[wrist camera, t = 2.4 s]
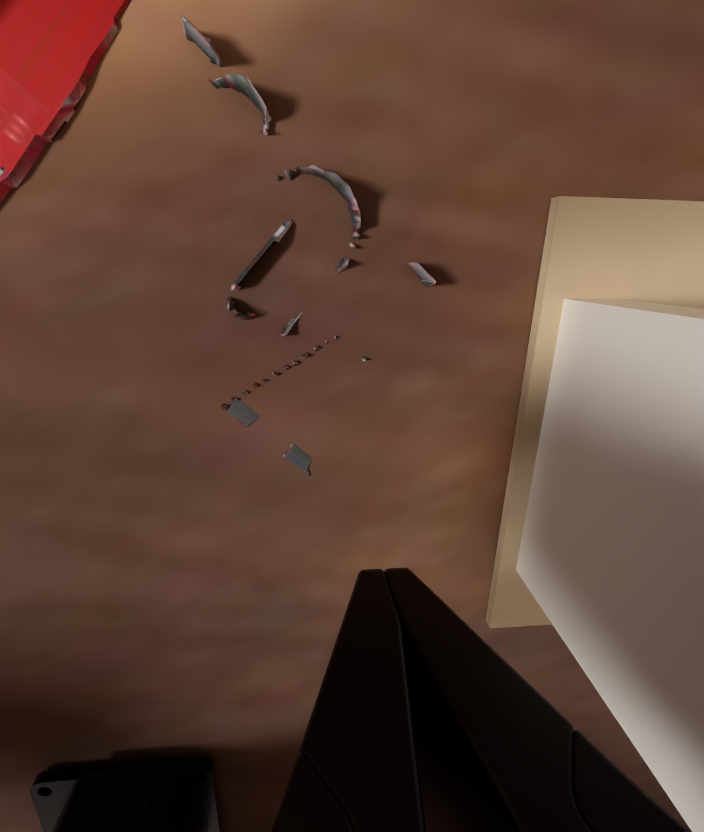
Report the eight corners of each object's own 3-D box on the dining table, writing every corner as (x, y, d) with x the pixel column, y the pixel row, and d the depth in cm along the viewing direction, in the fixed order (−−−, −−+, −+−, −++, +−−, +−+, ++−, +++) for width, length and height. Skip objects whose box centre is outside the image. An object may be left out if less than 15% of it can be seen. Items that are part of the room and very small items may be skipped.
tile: (568, 567, 15) (904, 961, 7) (515, 570, 15) (790, 977, 6) (629, 299, 12) (1393, 389, 4) (564, 298, 12) (1202, 391, 3)
